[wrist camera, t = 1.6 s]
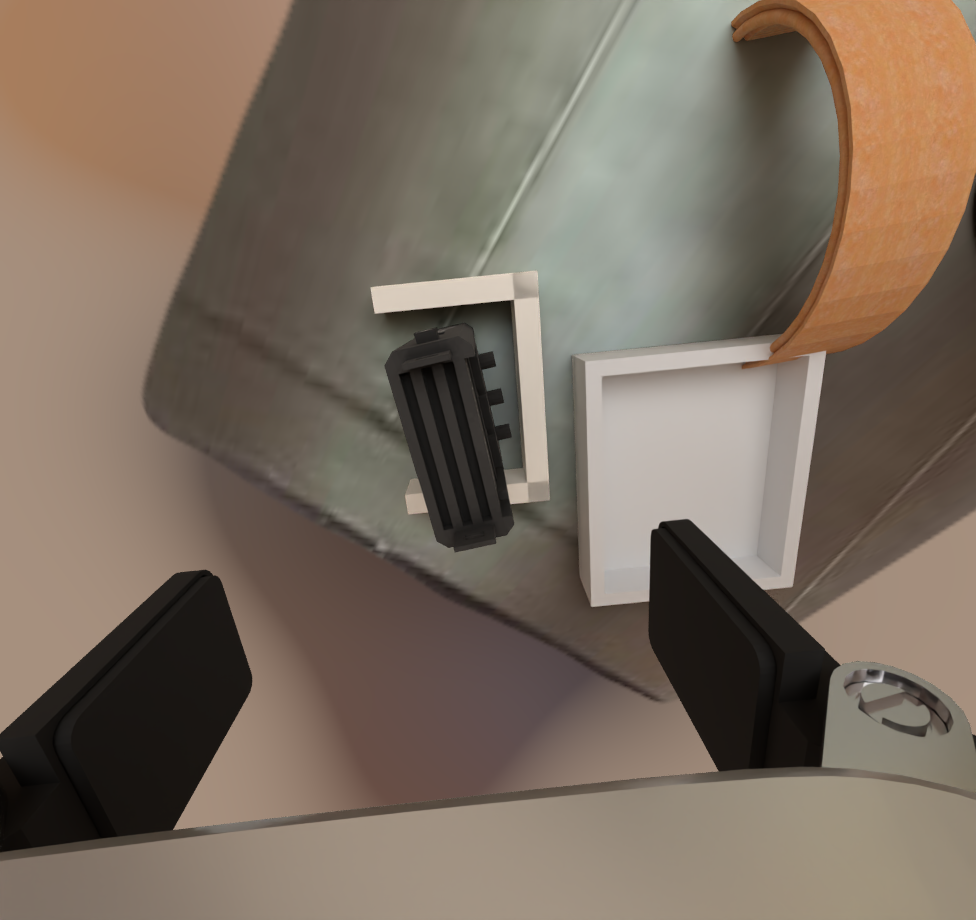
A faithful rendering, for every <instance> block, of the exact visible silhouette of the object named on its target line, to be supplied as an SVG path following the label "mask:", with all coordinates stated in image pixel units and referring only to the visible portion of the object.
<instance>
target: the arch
mask: <svg viewBox="0 0 976 920" xmlns="http://www.w3.org/2000/svg"><path fill="white" fill-rule="evenodd" d="M732 27H734V28H736V29H737V30H736V31H735V32H734V33H733V36H732V38H733V40H734V41H735V42H739V41H740V40H741V39H742V38H743V37H744V38H745V40H746V41H750V40H754V39H759V38H764V37H769V36H774V35H779V34H784V33H789V32H793V31H797V32H799V33H800V34H801V35H802V36H804V37H805V38H806V39H807V40H808V41H809V43H810V44H811V46H812V47H813V49H814V50H815V52H816V53H817V54H818V56H819V57H820V59H821V61H822V64H823V67H824V69H825V72H826V74H827V77H828V80H829V82H830V85H831V88H832V93H833V98H834V103H835V108H836V114H837V119H838V132H839V148H840V165H839V183H838V197H837V203H836V209H835V215H834V221H833V227H832V232H831V236H830V239H829V243H828V246H827V250H826V253H825V257H824V261H823V264H822V267H821V269H820V271H819V274H818V276H817V279H816V281H815V284H814V286H813V289H812V291H811V293H810V295H809V297H808V299H807V300H806V302H805V304H804V306H803V307H802V309H801V311H800V313H799V314H798V316H797V317H796V318H795V320H794V321H793V322H792V324H791V325H790V326H789V327H788V329H787V330H786V331H785V332H784V333H783V334H782V335H781V336H780V337H779V338H778V339H776V340H775V341H774V342H773V343H772V344H771V345H770V351H771V352H772V353H774V354H773V355H772V356H770V357H769V360H760V361H750V362H746V363H745V364H744V365H743V366H742V369H747V368H754V367H760V366H765V365H770V364H776V363H781V362H786V361H792V360H796V359H798V358H801V357H803V356H800V355H805V354H811V353H816V352H821V351H826V354H829V353H835V352H840V351H844V350H846V349H849V348H851V347H854V346H857V345H859V344H862V343H864V342H865V341H867V340H868V339H870V338H871V337H873V336H875V335H876V334H878V333H879V332H881V331H882V330H884V329H885V328H886V327H887V326H888V325H889V324H891V323H892V322H893V321H894V320H895V319H896V318H897V317H898V316H899V315H900V314H902V313H903V312H904V311H905V310H906V309H907V308H908V306H909V305H910V304H911V303H912V302H913V300H914V299H915V298H916V297H917V295H918V294H919V293H920V292H921V290H922V289H923V288H924V287H925V285H926V284H927V283H928V282H929V280H930V278H931V277H932V275H933V273H934V272H935V270H936V268H937V267H938V265H939V263H940V262H941V260H942V258H943V257H944V255H945V253H946V252H947V250H948V248H949V246H950V243H951V241H952V239H953V236H954V234H955V232H956V230H957V227H958V225H959V223H960V220H961V218H962V216H963V213H964V211H965V208H966V204H967V201H968V197H969V194H970V190H971V187H972V183H973V180H974V176H975V173H976V45H975V41H974V39H973V37H972V35H971V32H970V30H969V28H968V26H967V24H966V22H965V19H964V17H963V15H962V13H961V11H960V9H959V8H958V7H957V6H956V5H955V4H954V3H953V2H952V1H951V0H761V1H758V2H756V3H755V4H753V5H751V6H750V7H748V8H746V9H745V10H743V11H742V12H740V13H739V14H738V16H737V17H736V18H735V19H734V20H733V21H732ZM795 356H800V357H795ZM789 357H790V358H789Z"/></svg>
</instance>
